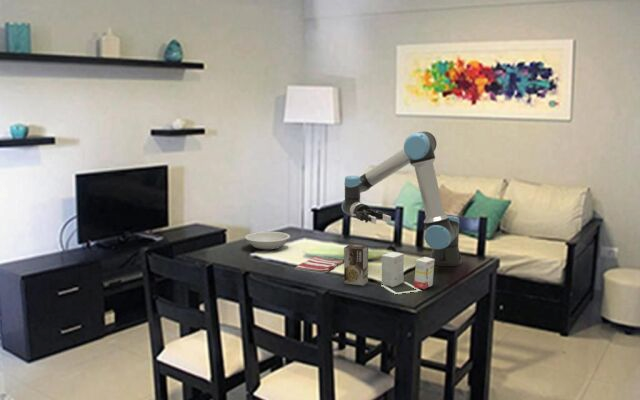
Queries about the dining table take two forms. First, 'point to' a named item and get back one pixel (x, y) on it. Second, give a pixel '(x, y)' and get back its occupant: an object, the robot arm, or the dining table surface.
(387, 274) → the small box
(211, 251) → the dining table surface
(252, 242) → the soup bowl
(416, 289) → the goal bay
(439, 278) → the dining table surface
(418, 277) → the ink box
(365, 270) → the coffee box
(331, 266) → the dish towel
